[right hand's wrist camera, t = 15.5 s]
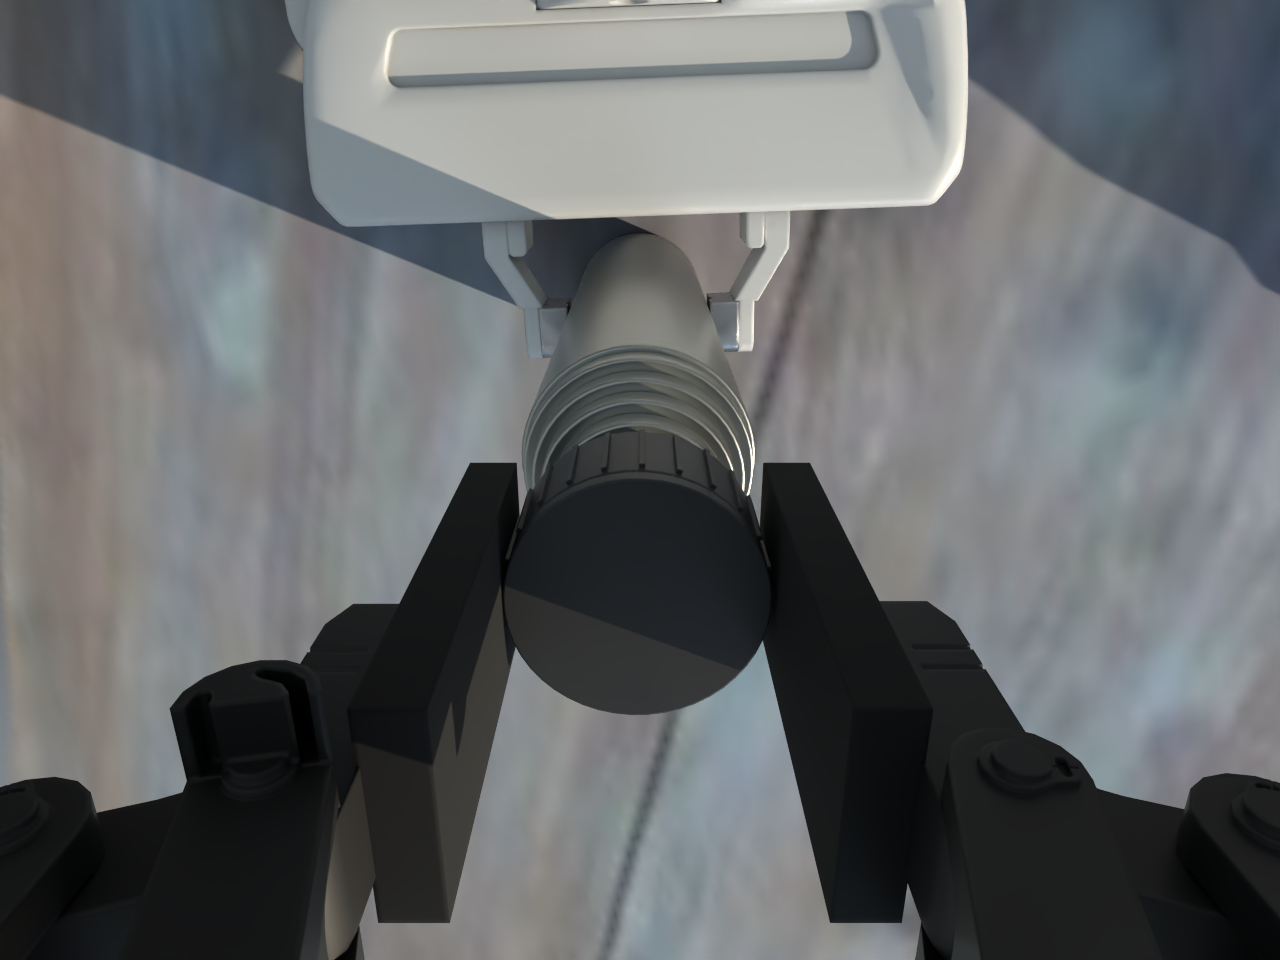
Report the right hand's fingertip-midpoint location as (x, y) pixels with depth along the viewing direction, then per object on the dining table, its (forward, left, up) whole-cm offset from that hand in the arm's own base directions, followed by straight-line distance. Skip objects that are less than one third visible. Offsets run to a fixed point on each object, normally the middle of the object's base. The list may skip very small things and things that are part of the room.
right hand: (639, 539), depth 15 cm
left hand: (0, -1, -17) cm, 17 cm away
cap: (0, 0, +2) cm, 2 cm away
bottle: (0, 0, -23) cm, 23 cm away
